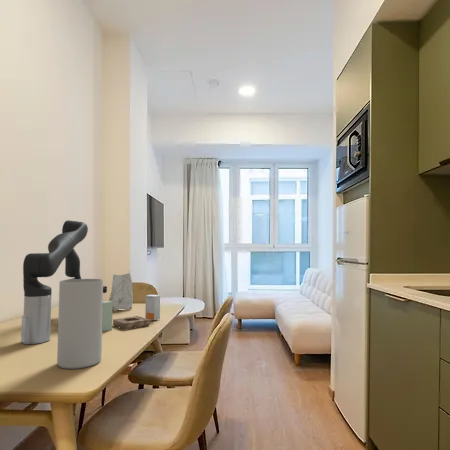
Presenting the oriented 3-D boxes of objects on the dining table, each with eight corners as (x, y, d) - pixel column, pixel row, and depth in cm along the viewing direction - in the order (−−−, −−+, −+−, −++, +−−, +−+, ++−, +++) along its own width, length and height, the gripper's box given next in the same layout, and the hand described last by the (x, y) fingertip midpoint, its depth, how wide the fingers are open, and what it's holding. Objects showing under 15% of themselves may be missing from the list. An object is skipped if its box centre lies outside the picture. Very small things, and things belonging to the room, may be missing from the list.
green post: (102, 331, 147) (103, 302, 147) (99, 329, 150) (99, 301, 150) (112, 330, 149) (112, 301, 150) (108, 328, 152) (108, 300, 153)
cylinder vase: (106, 356, 112) (108, 278, 114) (93, 369, 100) (95, 282, 102) (67, 356, 112) (69, 278, 114) (49, 370, 100) (52, 282, 101)
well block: (124, 330, 149) (125, 323, 149) (112, 325, 158) (113, 319, 158) (149, 325, 157) (149, 319, 157) (136, 321, 166) (136, 315, 166)
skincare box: (144, 320, 170) (145, 295, 171) (150, 318, 174) (150, 294, 175) (154, 321, 167) (154, 296, 168) (160, 319, 171) (160, 295, 172)
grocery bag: (110, 303, 226) (111, 267, 227) (132, 302, 229) (133, 267, 231) (107, 311, 195) (108, 270, 197) (132, 310, 199) (133, 269, 200)
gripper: (68, 281, 166) (80, 284, 154) (97, 279, 176) (111, 282, 164) (68, 297, 166) (80, 301, 154) (97, 294, 176) (111, 298, 164)
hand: (96, 291), depth 159 cm, fingers open, 8 cm apart
